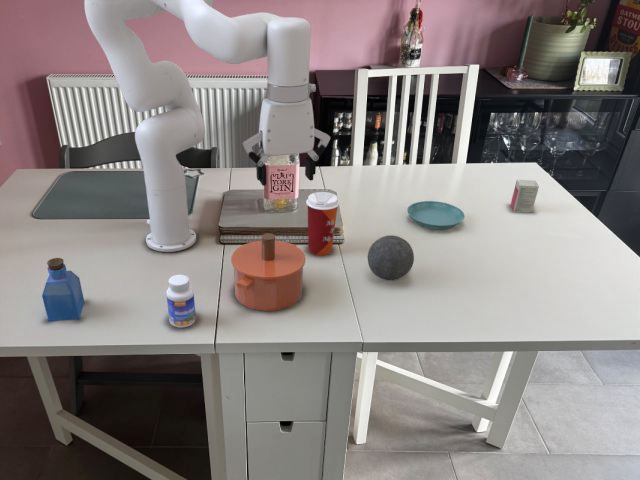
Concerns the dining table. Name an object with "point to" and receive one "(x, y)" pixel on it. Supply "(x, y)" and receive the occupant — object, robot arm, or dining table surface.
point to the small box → (524, 195)
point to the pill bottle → (180, 301)
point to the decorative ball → (390, 257)
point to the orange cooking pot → (268, 291)
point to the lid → (268, 259)
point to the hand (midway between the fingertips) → (286, 180)
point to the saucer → (435, 215)
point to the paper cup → (321, 222)
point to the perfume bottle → (62, 292)
